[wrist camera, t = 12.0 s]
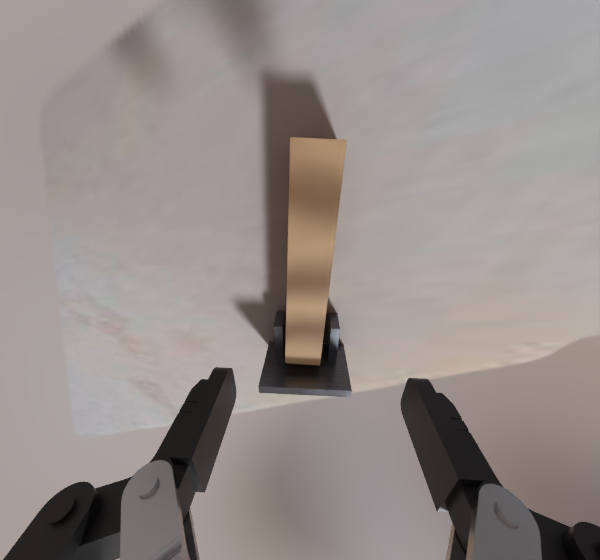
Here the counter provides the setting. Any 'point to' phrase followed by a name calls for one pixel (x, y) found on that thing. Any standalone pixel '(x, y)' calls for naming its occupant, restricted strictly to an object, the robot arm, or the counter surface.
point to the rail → (311, 242)
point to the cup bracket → (306, 366)
